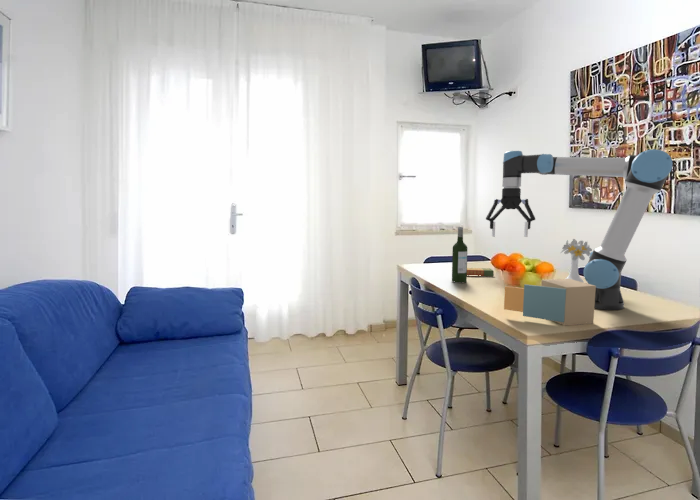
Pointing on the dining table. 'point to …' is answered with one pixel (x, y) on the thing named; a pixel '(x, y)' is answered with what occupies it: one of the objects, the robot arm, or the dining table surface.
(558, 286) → the kraft box
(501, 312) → the dining table surface
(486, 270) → the carton
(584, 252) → the flower vase
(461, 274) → the wine bottle
